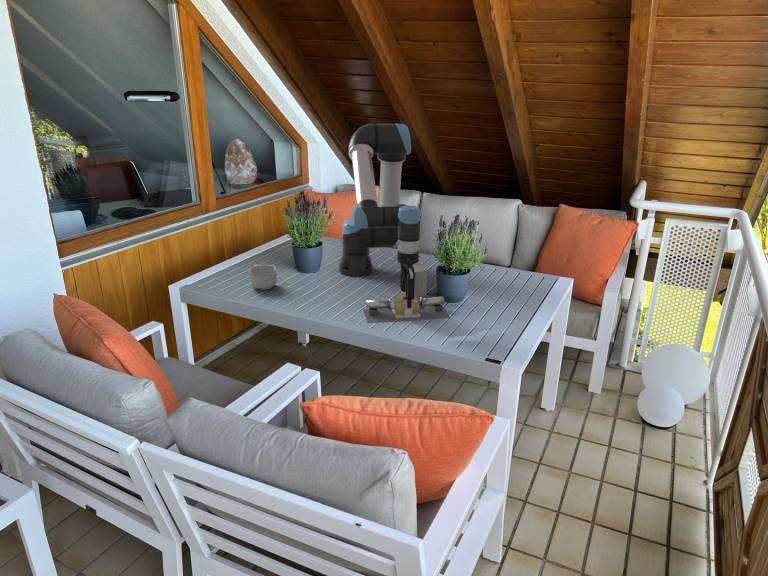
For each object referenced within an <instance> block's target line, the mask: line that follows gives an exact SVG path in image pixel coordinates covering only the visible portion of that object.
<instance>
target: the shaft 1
mask: <svg viewBox="0 0 768 576" xmlns="http://www.w3.org/2000/svg"><path fill="white" fill-rule="evenodd" d="M365 307H366V308H365V309H369V316H377V309H389V311H391V308H392V298H389V299H388V300H386V299H385V300H383V299H382V300H380V299H379V300H378V299H377V300H376V299H375V300H374V299H371V300H370V299H366V302H365Z"/></svg>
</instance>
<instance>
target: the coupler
mask: <svg viewBox="0 0 768 576" xmlns="http://www.w3.org/2000/svg"><path fill="white" fill-rule="evenodd" d="M393 298H394V300H393V308H394V311H395V314H396V316H397V315H404V308H405V300H404V298H405V297H401V296H396V297H393ZM418 306H419V305H418V299H417V298H416V297H414V300H413V304H412V315H418Z"/></svg>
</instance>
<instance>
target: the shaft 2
mask: <svg viewBox="0 0 768 576" xmlns="http://www.w3.org/2000/svg"><path fill="white" fill-rule="evenodd" d="M417 300H418V306H419V308H420V309H423V308H424V307H426V306H430V308H431V309H432V310H433V311H434V312H442V310H443V308H444V306H443V305H444V304H445V297H444V296H443V295H441V296H439V295H438V296H433V297H423V298H422V297H419V298H418V299H417Z"/></svg>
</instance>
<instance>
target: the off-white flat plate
mask: <svg viewBox="0 0 768 576" xmlns="http://www.w3.org/2000/svg"><path fill="white" fill-rule="evenodd" d="M392 311H393V313H394V315H395V318H411V317H420V314H419V312H418V315H412V316H404V315H397V316H396V314H395V311H394V309H392Z"/></svg>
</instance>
